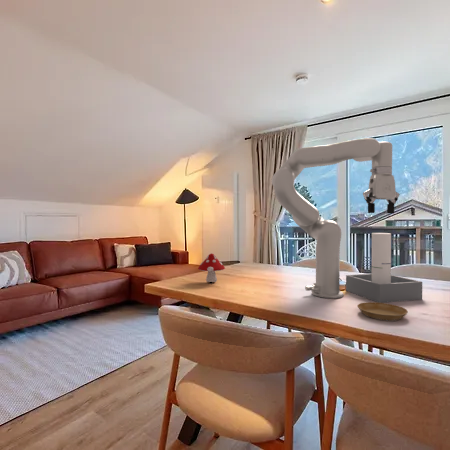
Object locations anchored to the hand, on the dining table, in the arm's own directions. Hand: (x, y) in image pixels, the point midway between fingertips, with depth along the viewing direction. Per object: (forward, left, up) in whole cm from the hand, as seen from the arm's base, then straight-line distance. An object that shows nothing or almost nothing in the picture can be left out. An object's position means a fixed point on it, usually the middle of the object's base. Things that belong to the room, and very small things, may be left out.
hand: (381, 213), depth 123 cm
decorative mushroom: (-64, +42, -35) cm, 84 cm away
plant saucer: (-19, -22, -35) cm, 46 cm away
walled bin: (+1, 0, -35) cm, 35 cm away
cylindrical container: (0, 0, -34) cm, 34 cm away
